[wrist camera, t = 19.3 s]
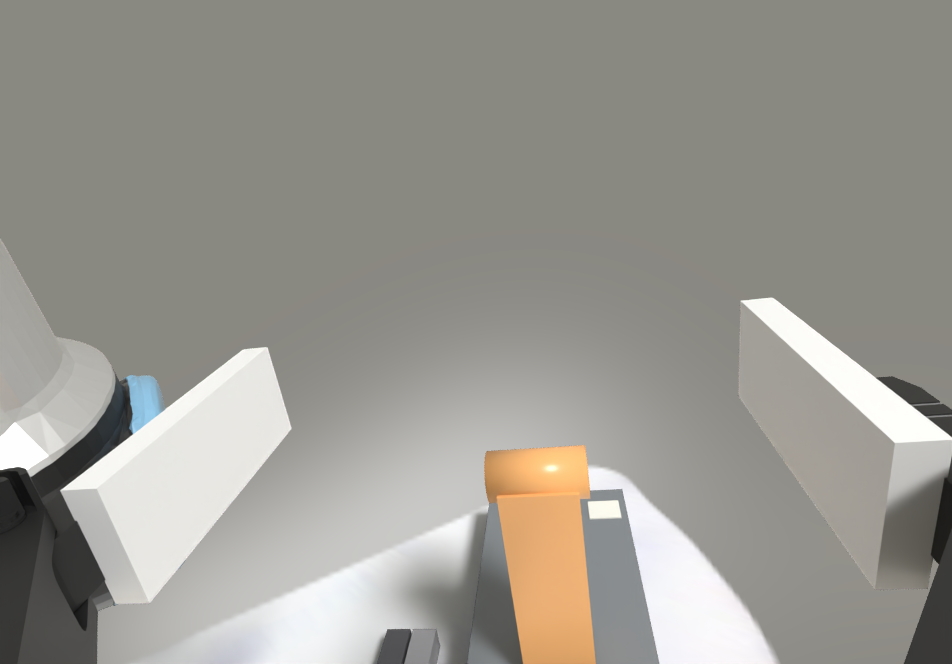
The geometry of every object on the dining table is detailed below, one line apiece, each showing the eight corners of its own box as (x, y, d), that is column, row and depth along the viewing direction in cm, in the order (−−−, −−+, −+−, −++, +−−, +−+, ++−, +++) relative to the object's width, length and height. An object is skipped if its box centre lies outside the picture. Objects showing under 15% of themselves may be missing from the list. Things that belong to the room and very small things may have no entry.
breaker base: (464, 779, 29) (455, 739, 28) (495, 523, 48) (490, 494, 47) (678, 786, 28) (677, 744, 27) (623, 518, 46) (621, 487, 45)
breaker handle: (515, 673, 31) (482, 473, 26) (518, 627, 34) (488, 439, 29) (606, 673, 30) (587, 467, 26) (600, 627, 33) (583, 433, 28)
